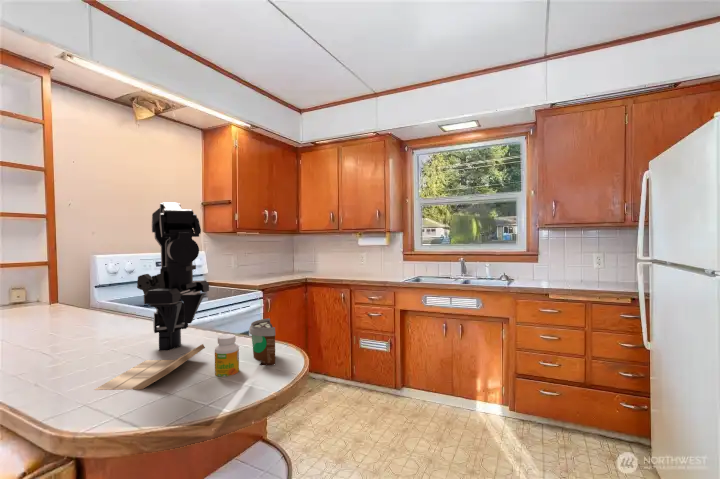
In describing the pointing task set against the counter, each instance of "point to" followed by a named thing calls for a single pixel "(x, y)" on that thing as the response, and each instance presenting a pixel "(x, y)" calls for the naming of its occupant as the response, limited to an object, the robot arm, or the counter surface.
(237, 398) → the counter surface
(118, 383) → the floor board
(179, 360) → the plank
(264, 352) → the food container
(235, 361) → the supplement bottle
